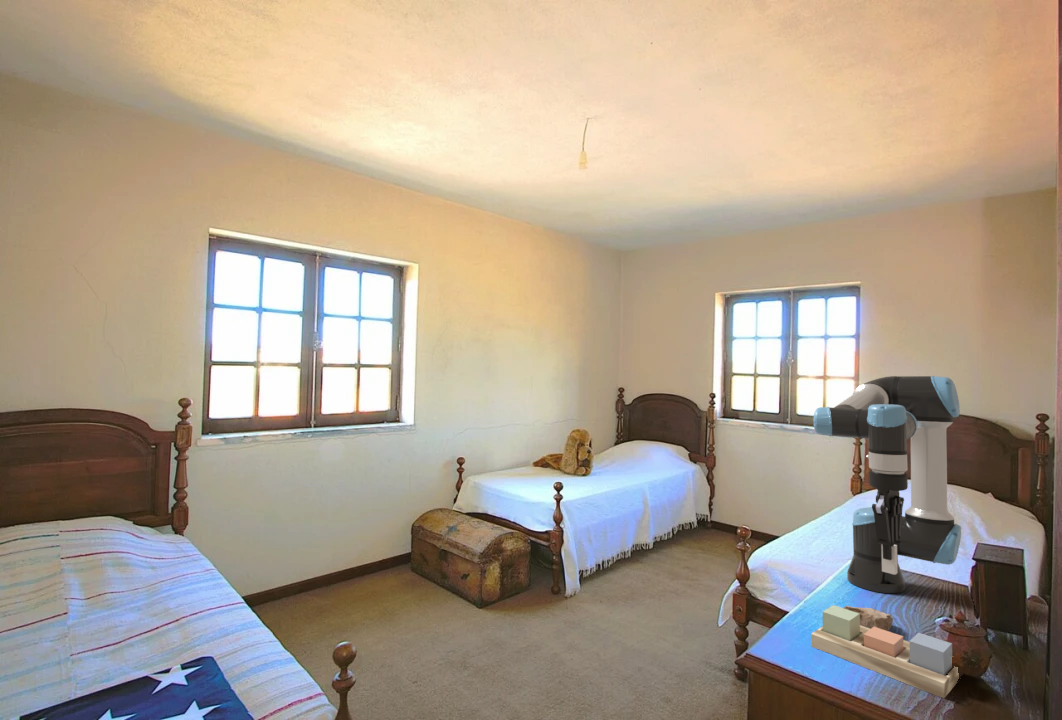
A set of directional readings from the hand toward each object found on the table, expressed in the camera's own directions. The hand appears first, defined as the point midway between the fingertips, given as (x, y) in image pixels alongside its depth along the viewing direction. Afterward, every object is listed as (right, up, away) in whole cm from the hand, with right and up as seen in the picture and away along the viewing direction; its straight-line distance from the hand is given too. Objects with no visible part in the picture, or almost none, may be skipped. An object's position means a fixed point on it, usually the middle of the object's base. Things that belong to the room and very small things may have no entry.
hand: (889, 572), depth 124 cm
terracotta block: (-3, -19, -2) cm, 19 cm away
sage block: (-8, -17, +5) cm, 19 cm away
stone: (+4, -20, +14) cm, 25 cm away
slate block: (+3, -17, -9) cm, 19 cm away
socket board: (-3, -19, -2) cm, 20 cm away
